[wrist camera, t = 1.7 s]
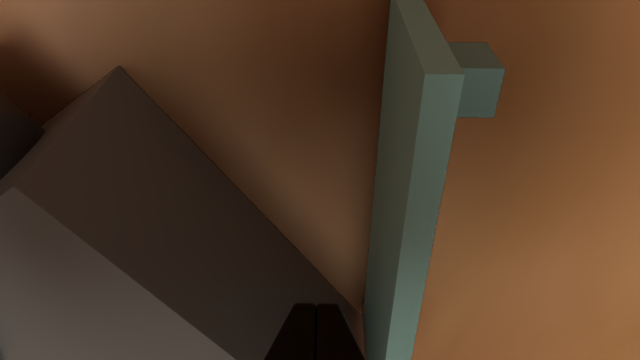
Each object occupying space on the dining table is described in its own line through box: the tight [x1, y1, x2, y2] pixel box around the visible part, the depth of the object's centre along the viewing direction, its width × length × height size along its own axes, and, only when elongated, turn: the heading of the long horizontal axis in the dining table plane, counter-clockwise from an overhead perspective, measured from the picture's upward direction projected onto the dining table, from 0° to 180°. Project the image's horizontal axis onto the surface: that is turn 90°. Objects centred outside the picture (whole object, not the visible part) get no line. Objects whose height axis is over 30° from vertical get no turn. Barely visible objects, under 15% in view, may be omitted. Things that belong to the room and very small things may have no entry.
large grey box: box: [0, 66, 365, 360], centre depth 18 cm, size 19×9×8 cm, turn 35°
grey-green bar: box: [362, 0, 505, 360], centre depth 17 cm, size 15×2×6 cm, turn 0°
